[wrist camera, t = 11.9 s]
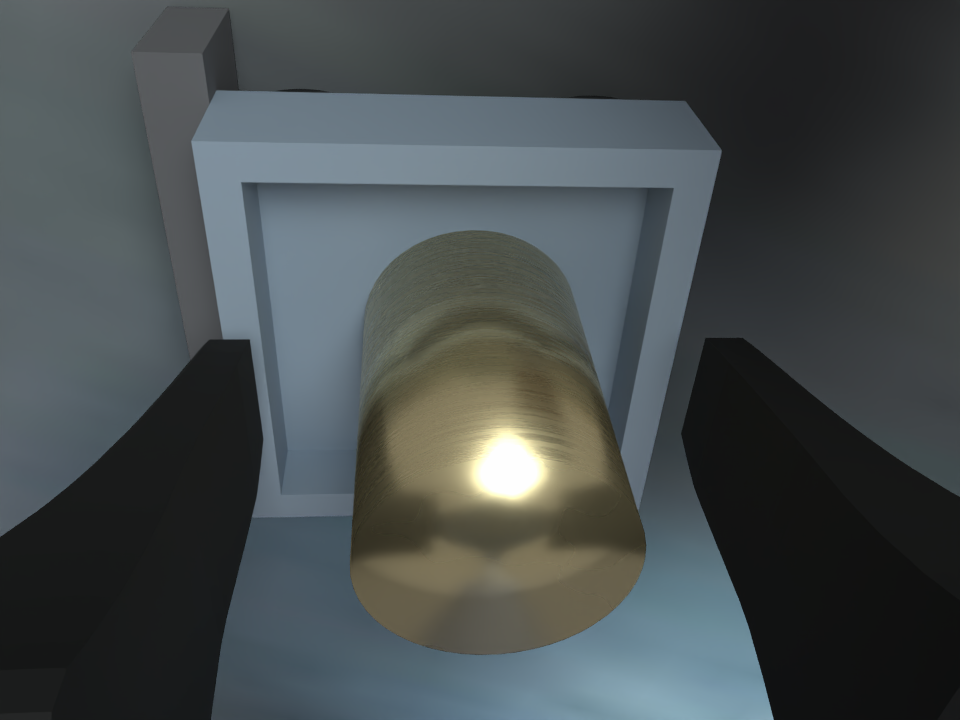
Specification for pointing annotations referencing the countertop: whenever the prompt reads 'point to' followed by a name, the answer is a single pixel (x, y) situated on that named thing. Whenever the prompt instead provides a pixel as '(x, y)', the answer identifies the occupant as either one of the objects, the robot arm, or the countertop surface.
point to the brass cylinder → (485, 455)
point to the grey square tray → (431, 212)
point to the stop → (184, 143)
